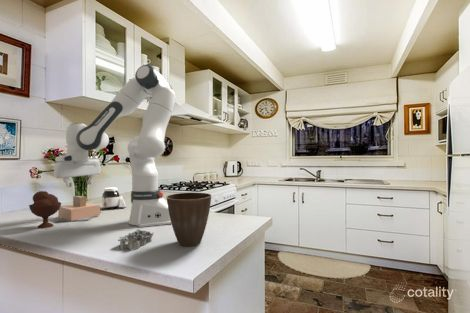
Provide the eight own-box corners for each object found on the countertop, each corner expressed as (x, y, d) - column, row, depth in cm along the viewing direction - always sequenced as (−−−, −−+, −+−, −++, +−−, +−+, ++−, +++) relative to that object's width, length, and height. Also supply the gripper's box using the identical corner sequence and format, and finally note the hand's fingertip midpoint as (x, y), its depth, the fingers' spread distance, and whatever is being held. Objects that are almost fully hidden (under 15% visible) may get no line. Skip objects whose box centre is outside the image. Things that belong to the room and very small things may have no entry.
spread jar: (100, 208, 145) (100, 187, 145) (119, 205, 154) (119, 186, 154) (109, 211, 137) (109, 189, 137) (129, 207, 146) (129, 187, 146)
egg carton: (134, 251, 79) (134, 238, 79) (115, 249, 81) (115, 236, 81) (155, 240, 89) (155, 229, 89) (138, 238, 91) (138, 227, 91)
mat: (101, 212, 134) (101, 211, 134) (88, 220, 116) (88, 219, 116) (71, 213, 131) (71, 212, 131) (54, 222, 113) (54, 221, 113)
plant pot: (204, 252, 77) (204, 199, 77) (158, 249, 79) (158, 198, 79) (216, 237, 92) (216, 192, 92) (177, 235, 94) (176, 192, 94)
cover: (86, 212, 133) (86, 193, 133) (99, 215, 125) (99, 195, 125) (58, 217, 122) (58, 197, 122) (71, 220, 115) (71, 199, 115)
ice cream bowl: (44, 230, 100) (44, 193, 100) (21, 229, 102) (21, 192, 103) (67, 224, 111) (67, 189, 111) (46, 222, 113) (46, 189, 113)
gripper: (95, 156, 133) (97, 182, 134) (51, 158, 116) (53, 188, 116) (102, 156, 130) (104, 183, 130) (57, 157, 113) (59, 188, 113)
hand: (79, 185), depth 123 cm, fingers open, 8 cm apart
